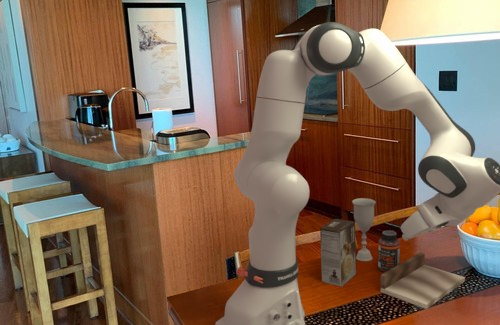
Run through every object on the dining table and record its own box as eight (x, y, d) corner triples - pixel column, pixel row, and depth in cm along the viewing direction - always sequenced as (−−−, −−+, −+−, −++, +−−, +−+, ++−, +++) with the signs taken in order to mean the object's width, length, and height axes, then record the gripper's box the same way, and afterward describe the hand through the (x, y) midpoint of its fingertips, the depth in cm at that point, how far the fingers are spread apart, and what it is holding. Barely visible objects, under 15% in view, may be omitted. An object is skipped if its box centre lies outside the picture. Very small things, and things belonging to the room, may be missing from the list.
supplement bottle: (377, 273, 138) (377, 235, 136) (378, 264, 144) (378, 228, 142) (399, 274, 137) (399, 237, 134) (399, 265, 142) (399, 229, 140)
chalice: (347, 256, 151) (347, 200, 147) (365, 251, 154) (365, 196, 150) (362, 264, 144) (362, 206, 141) (380, 259, 147) (381, 202, 143)
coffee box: (336, 269, 142) (335, 217, 139) (356, 274, 138) (356, 221, 135) (321, 282, 135) (319, 227, 132) (341, 287, 131) (341, 231, 128)
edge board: (426, 309, 118) (426, 291, 117) (380, 291, 128) (380, 275, 127) (464, 281, 131) (465, 264, 130) (420, 267, 140) (420, 251, 139)
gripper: (467, 188, 126) (434, 215, 136) (416, 205, 115) (384, 232, 126) (483, 208, 123) (448, 234, 134) (431, 227, 113) (398, 253, 123)
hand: (416, 233), depth 130 cm, fingers open, 8 cm apart
